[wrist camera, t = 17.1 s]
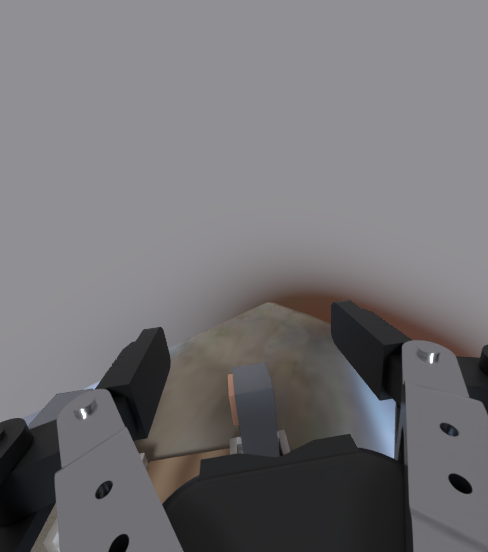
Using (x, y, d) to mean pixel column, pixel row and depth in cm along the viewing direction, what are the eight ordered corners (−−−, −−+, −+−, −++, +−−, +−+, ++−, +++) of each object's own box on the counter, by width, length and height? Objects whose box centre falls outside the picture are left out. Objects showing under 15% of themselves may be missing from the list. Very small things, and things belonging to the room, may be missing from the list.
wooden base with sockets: (285, 446, 35) (283, 426, 33) (305, 524, 26) (304, 501, 25) (97, 478, 33) (88, 458, 32) (53, 571, 25) (39, 550, 24)
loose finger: (275, 458, 32) (265, 362, 27) (282, 492, 28) (273, 387, 23) (242, 464, 31) (227, 368, 27) (245, 500, 28) (228, 395, 23)
